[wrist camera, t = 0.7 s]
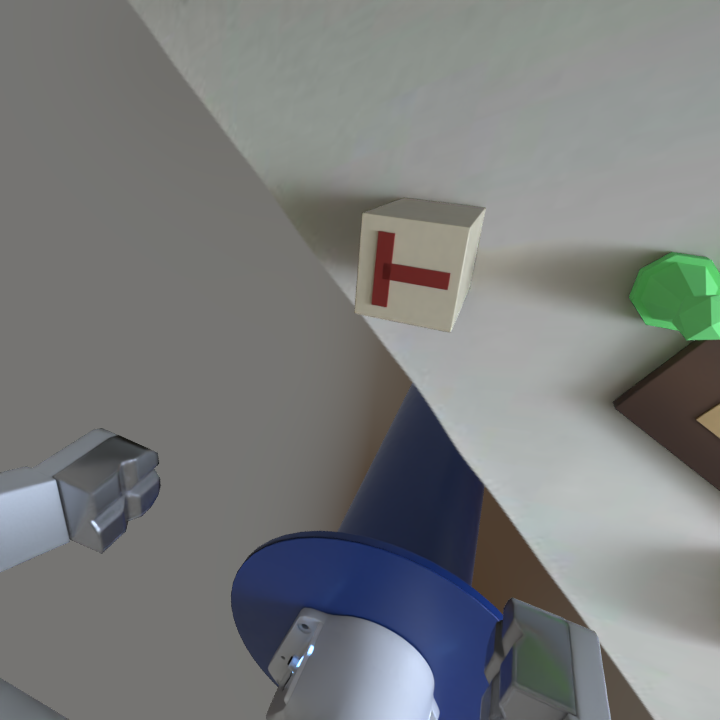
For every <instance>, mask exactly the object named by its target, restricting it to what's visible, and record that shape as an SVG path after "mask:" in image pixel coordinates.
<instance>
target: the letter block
mask: <svg viewBox="0 0 720 720" xmlns="http://www.w3.org/2000/svg"><path fill="white" fill-rule="evenodd" d="M485 209H486V208H483V207H475V206H467V205H459V204H451V203H443V202H435V201H427V200H418V199H410V198H402V199H400V200H397V201H394V202H391V203H389V204H386V205H383V206H380V207H378V208H375V209H372V210H369V211H366V212H364V213H362V223H361V236H360V248H359V261H358V274H357V286H356V299H355V312H354V313H355V314H360V315H365V316H370V317H375V318H380V319H385V320H390V321H395V322H400V323H405V324H409V325H414V326H419V327H424V328H429V329H434V330H439V331H444V332H449V333H450V332H451V331H452V328H453V326H454V324H455V321H456V319H457V317H458V314H459V312H460V310H461V307H462V305H463V303H464V301H465V298H466V296H467V294H468V291H469V289H470V284H471V279H472V274H473V269H474V264H475V259H476V254H477V249H478V244H479V239H480V234H481V229H482V224H483V219H484V214H485Z"/></svg>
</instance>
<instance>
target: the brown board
mask: <svg viewBox="0 0 720 720" xmlns="http://www.w3.org/2000/svg"><path fill="white" fill-rule="evenodd" d="M613 404H614V407H615V409H616V410H618V411H619V412H620V413H622V414H623V415H624V416H625V417H627V418H628V419H629V420H630V421H632V422H633V423H634V424H636V425H637V426H638V427H639V428H641V429H642V430H643V431H644V432H646V433H647V434H648V435H650V436H651V437H652V438H653V439H655V440H656V441H657V442H658V443H660V444H661V445H662V446H663V447H665V448H666V449H667V450H669V451H670V452H671V453H672V454H674V455H675V456H676V457H677V458H679V459H680V460H681V461H683V462H684V463H685V464H686V465H688V466H689V467H690V468H691V469H693V470H694V471H695V472H697V473H698V474H699V475H700V476H702V477H703V478H704V479H705V480H707V481H708V482H709V483H711V484H712V485H713V486H714V487H716V488H717V489H718V490H719V491H720V340H695V341H693V342H692V343H691V344H689V345H688V346H687V347H685V348H684V349H683V350H681V351H680V352H679V353H677V354H676V355H675V356H673V357H672V358H671V359H669V360H668V361H667V362H665V363H664V364H663V365H661V366H660V367H659V368H657V369H656V370H655V371H653V372H652V373H651V374H649V375H648V376H647V377H645V378H644V379H643V380H641V381H640V382H639V383H637V384H636V385H635V386H633V387H632V388H631V389H629V390H628V391H627V392H625V393H624V394H623V395H621V396H620V397H619V398H617V399H616V400H615V401H613Z"/></svg>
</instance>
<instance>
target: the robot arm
mask: <svg viewBox="0 0 720 720" xmlns="http://www.w3.org/2000/svg"><path fill="white" fill-rule="evenodd" d="M158 464H159V460H158V453H157V452H155V451H153V450H151V449H148V448H146V447H144V446H142V445H139V444H137V443H135V442H133V441H131V440H128V439H126V438H124V437H122V436H119V435H117V434H115V433H112V432H110V431H108V430H105V429H103V428H100V429H95V430H92V431H90V432H89V433H87V434H86V435H84V436H82V437H81V438H79V439H78V440H76V441H74V442H73V443H71V444H70V445H68V446H67V447H65V448H64V449H62V450H60V451H59V452H57V453H55V454H54V455H52V456H51V457H49V458H48V459H46V460H44V461H43V462H41V463H40V464H38V465H36V466H35V467H33V468H30V467H28V466H25V467H21V468H17V469H12V470H8V471H4V472H0V572H2V571H5V570H7V569H9V568H12V567H14V566H16V565H18V564H21V563H23V562H25V561H27V560H30V559H32V558H34V557H36V556H39V555H41V554H43V553H46V552H48V551H50V550H52V549H55V548H57V547H59V546H61V545H64V544H66V543H68V542H70V540H72V541H75V542H77V543H79V544H81V545H84V546H86V547H88V548H90V549H92V550H95V551H97V552H99V553H101V554H102V553H103V552H104V551H105V550H106V549H107V548H108V547H110V546H111V545H112V544H113V543H114V542H115V541H116V540H117V539H118V538H119V537H120V536H121V535H122V534H123V533H125V532H126V529H127V525H128V521H130V520H133V519H136V518H139V517H141V516H143V514H145V513H146V511H148V510H149V509H150V508H151V506H152V505H153V503H154V501H155V500H156V498H157V497H158V494H159V490H160V477H159V476H158V474H157V472H156V471H155V469H154V468H155V467H156V466H157V465H158ZM69 539H70V540H69ZM268 670H269V672H270V674H271V676H272V677H273V678H274V680H275V681H276V682H277V683H278V685H279V687H278V689H277V691H276V693H275V695H274V698H273V700H272V702H271V704H270V707H269V709H268V711H267V714H266V720H438V718H439V714H440V711H439V708H438V706H437V703H436V701H435V699H434V696H433V693H434V677H433V674H432V671H431V669H430V667H429V665H428V664H427V662H426V661H425V659H424V658H423V657H422V655H421V654H420V653H419V652H418V651H417V650H416V649H415V648H414V647H413V646H412V645H411V644H409V643H408V642H407V641H406V640H404V639H403V638H402V637H400V636H399V635H397V634H396V633H394V632H392V631H391V630H389V629H387V628H385V627H383V626H381V625H379V624H376V623H374V622H371V621H368V620H365V619H361V618H357V617H352V616H341V615H331V614H327V613H324V612H321V611H319V610H315V609H312V608H303V609H301V611H300V613H299V614H298V616H297V618H296V619H295V621H294V622H293V624H292V626H291V627H290V629H289V631H288V632H287V634H286V636H285V637H284V639H283V641H282V642H281V644H280V645H279V647H278V649H277V650H276V652H275V654H274V655H273V657H272V659H271V661H270V664H269V666H268ZM484 674H485V676H486V679H487V681H488V683H489V686H488V687H487V689H486V691H485V693H484V694H483V696H482V698H481V711H480V720H611V718H610V711H609V704H608V697H607V691H606V684H605V678H604V671H603V664H602V658H601V651H600V645H599V638H598V636H597V635H596V633H595V631H592V630H590V629H587V628H585V627H583V626H580V625H578V624H575V623H573V622H570V621H568V620H565V619H564V618H562V617H560V616H557V615H555V614H552V613H550V612H547V611H544V610H542V609H539V608H537V607H534V606H532V605H529V604H527V603H524V602H522V601H519V600H517V599H514V598H511V599H509V600H508V602H507V603H506V605H505V607H504V612H503V620H501V621H498V622H496V624H495V626H494V628H493V630H492V632H491V635H490V638H489V642H488V645H487V650H486V656H485V665H484ZM0 720H69V719H67V718H66V717H64V716H63V715H61V714H59V713H58V712H56V711H54V710H53V709H51V708H50V707H48V706H46V705H44V704H43V703H41V702H40V701H38V700H36V699H34V698H33V697H31V696H30V695H28V694H26V693H25V692H23V691H21V690H20V689H18V688H16V687H14V686H13V685H12V684H10V683H8V682H6V681H4V680H3V679H1V678H0Z"/></svg>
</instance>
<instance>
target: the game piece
mask: <svg viewBox="0 0 720 720" xmlns="http://www.w3.org/2000/svg"><path fill="white" fill-rule="evenodd" d="M629 299H630V300H631V302H632V303H633V305H634V307H635V308H636V310H637V311H638V313H639V314H640V316H641V318H642V319H643V321H644V322H645V324H646V325H651V326H656V327H661V328H667V329H672V330H677V331H679V332H680V333H681V334H682V335H683V337H684V338H685V339H686V340H720V274H719V272H718V270H717V268H716V267H715V265H714V263H713V262H712V260H710V259H709V258H707V257H702V256H695V255H688V254H682V253H675V252H671V253H669V254H667V255H665V256H663V257H662V258H660V259H658V260H656V261H654V262H652V263H650V264H649V265H647V266H645V267H643V268H641V269H640V270H639V272H638V275H637V277H636V280H635V283H634V285H633V288H632V290H631V293H630V295H629Z"/></svg>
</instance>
